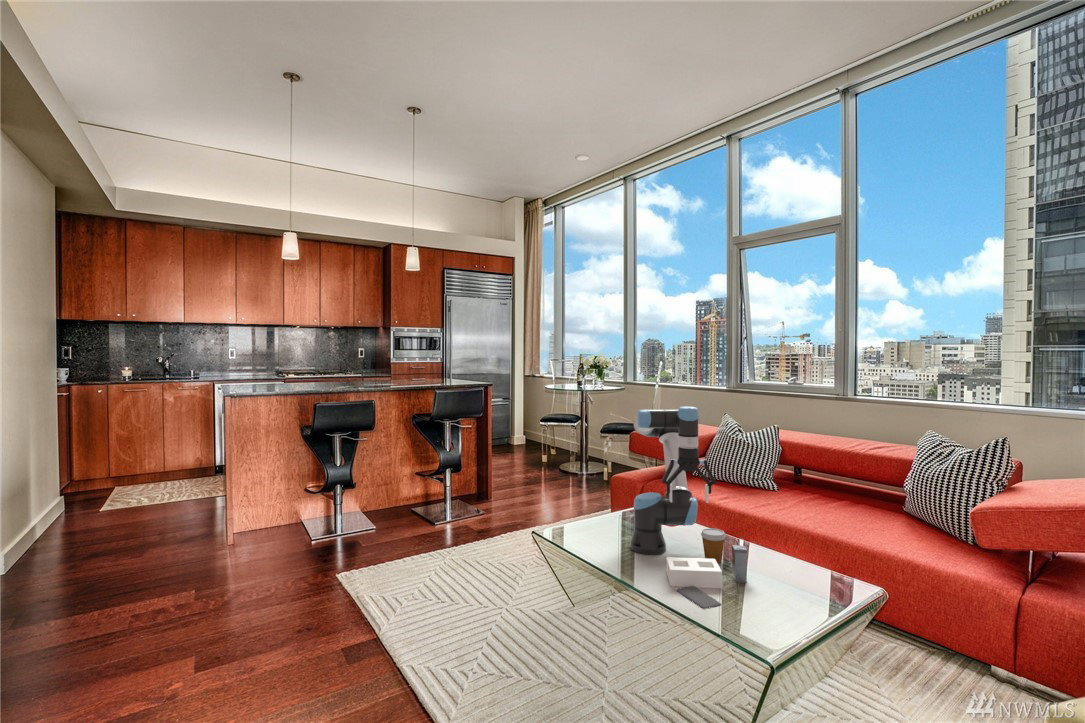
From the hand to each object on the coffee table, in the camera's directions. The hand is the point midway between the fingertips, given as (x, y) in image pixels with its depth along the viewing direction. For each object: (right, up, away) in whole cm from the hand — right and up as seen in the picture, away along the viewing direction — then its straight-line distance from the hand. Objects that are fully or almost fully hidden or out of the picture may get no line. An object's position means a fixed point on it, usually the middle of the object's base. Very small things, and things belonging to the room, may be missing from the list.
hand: (688, 501), depth 201 cm
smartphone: (-3, -27, -23) cm, 36 cm away
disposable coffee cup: (+12, -27, +9) cm, 31 cm away
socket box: (-1, -27, -9) cm, 28 cm away
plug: (+16, -27, -9) cm, 32 cm away
